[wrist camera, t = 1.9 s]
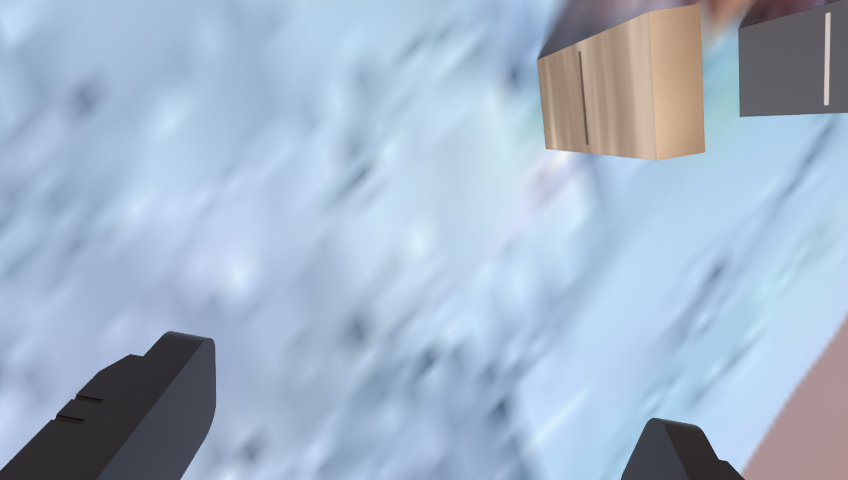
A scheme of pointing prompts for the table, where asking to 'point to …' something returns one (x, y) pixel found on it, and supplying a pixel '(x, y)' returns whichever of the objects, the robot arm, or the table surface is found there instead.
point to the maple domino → (628, 89)
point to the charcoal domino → (795, 63)
